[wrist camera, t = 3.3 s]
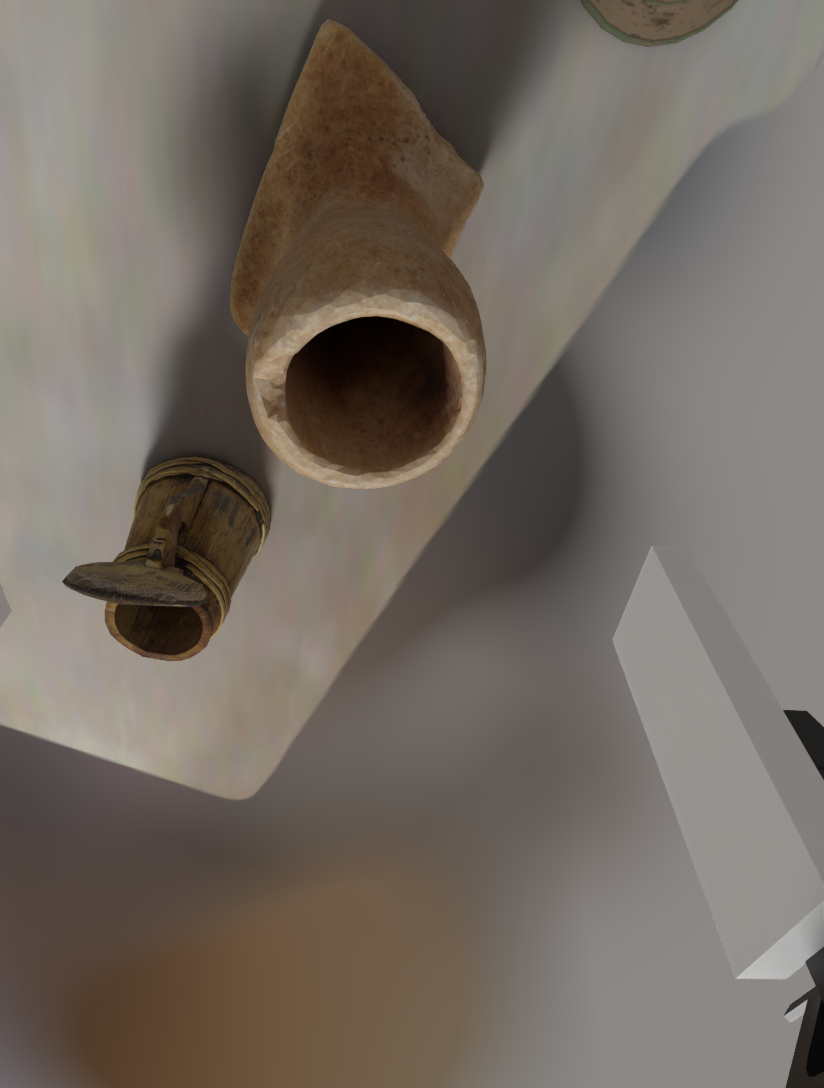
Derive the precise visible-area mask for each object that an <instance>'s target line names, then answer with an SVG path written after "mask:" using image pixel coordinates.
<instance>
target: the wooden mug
mask: <svg viewBox="0 0 824 1088" xmlns="http://www.w3.org/2000/svg"><path fill="white" fill-rule="evenodd" d="M270 519H271V517H270V510H269V506H268V504H267V501H266V499H265V496H264V493H263V492H262V491H261V489H260V488H259V487H258V486H257V484H256V483H255V482H254V481H253V480H252V478H250V477H248V476H247V475H245V474H244V473H242V472H241V471H239V470H238V469H236V468H235V467H231V466H228V465H225V464H222V463H220V462H216V461H213V460H210V459H207V458H202V457H181V458H177V459H173V460H169V461H165V462H163V463H161V464H159V465H157V466H155V467H153V468H151V469H150V470H149V472H148V473H147V475H146V476H145V478H144V480H143V481H142V483H141V484H140V486H139V489H138V492H137V496H136V500H135V504H134V520H133V524H132V527H131V530H130V533H129V537H128V540H127V543H126V546H125V549H124V551H123V552H121V553H119V555H118V556H117V557H116V558H115V560H114V561H113V562H97V563H90V564H85V565H81V566H77V567H75V568H74V569H73V570H72V571H71V572H70V573H69V574H68V575H67V576H66V578H65V579H64V580H63V581H62V582H63V583H64V584H65V586H67V587H69V588H70V589H72V590H75V591H77V592H79V593H81V594H83V595H86V596H90V597H93V598H97V599H100V600H104V601H106V608H105V623H106V625H107V627H108V630H109V632H110V634H111V635H112V636H113V637H114V638H115V639H116V640H117V641H118V642H119V643H121V644H122V645H124V646H125V647H127V648H128V649H130V650H131V651H133V652H135V653H137V654H139V655H141V656H143V657H148V658H154V659H160V660H166V661H181V660H184V659H188V658H191V657H192V656H194V655H196V654H198V653H199V652H200V651H202V650H203V649H204V648H205V647H206V646H207V644H208V642H209V640H210V639H211V638H212V637H213V636H214V635H215V634H216V633H217V632H218V631H219V629H220V627H221V625H222V623H223V622H224V620H225V618H226V615H227V613H228V611H229V608H230V603H231V597H232V595H233V593H234V592H235V590H236V588H237V586H238V584H239V582H240V580H241V579H242V577H243V575H244V573H245V571H246V569H247V567H248V566H249V564H250V562H251V560H252V559H253V558H254V557H255V556H256V555H257V554H258V553H259V551H260V549H261V548H262V546H263V544H264V542H265V540H266V538H267V535H268V533H269V528H270Z"/></svg>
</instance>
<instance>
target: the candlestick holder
mask: <svg viewBox="0 0 824 1088" xmlns="http://www.w3.org/2000/svg"><path fill="white" fill-rule="evenodd" d="M581 1H582V4H583V6H584V7H585V8H586V10H587V11H588V12H589V13H590V15H591V16H592V17H593V18H594V19H595V21H596V22H597V23H598V24H599V26H600V27H601V28H602V29H604V30H605V31H607V32H609V33H610V34H612V35H614V36H615V37H617V38H618V39H620V40H622V41H623V42H627V43H632V44H637V45H642V46H647V47H651V46H658V45H665V44H673V43H677V42H679V41H681V40H683V39H686V38H688V37H690V36H692V35H694V34H697V33H699V32H701V31H703V30H705V29H706V28H707V27H708V26H710V25H711V24H712V23H714V22H715V21H716V20H717V19H719V18H720V17H721V16H722V15H724V14H725V13H726V12H727V11H729V10H730V9H731V8H732V7H733V6H734V5H735V4H736V2H737V1H738V0H581Z"/></svg>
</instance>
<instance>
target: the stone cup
mask: <svg viewBox="0 0 824 1088" xmlns="http://www.w3.org/2000/svg"><path fill="white" fill-rule="evenodd" d="M483 185H484V183H483V180H482V178H481V176H480V175H479V174H478V173H477V172H476V171H475V170H474V169H473V168H472V167H471V166H470V165H469V164H468V163H466V162H465V161H464V160H463V159H462V158H461V157H459V156H458V154H457V152H456V150H455V148H454V147H453V146H452V145H451V144H450V143H449V142H448V141H447V140H445V139H444V138H443V137H441V136H440V135H439V134H438V133H437V132H436V130H435V128H434V126H433V125H432V124H431V123H430V122H429V120H428V118H427V116H426V115H425V113H424V112H423V110H422V109H421V108H420V105H419V103H418V101H417V99H416V97H415V96H414V94H413V93H412V91H411V90H410V89H409V88H408V87H407V86H406V85H405V84H404V83H403V82H402V81H401V79H400V78H399V77H398V76H397V75H396V74H395V73H394V71H393V70H392V69H391V68H390V67H389V66H388V65H387V64H386V63H385V62H384V61H383V60H382V59H381V58H380V57H378V56H377V55H376V54H375V53H374V52H373V51H372V50H371V49H370V48H369V47H368V46H367V45H366V44H365V43H364V42H363V41H362V40H361V39H360V38H359V37H358V36H357V35H356V34H355V33H354V32H353V31H352V30H351V29H350V28H348V27H346V26H344V25H342V24H340V23H338V22H336V21H334V20H331V19H327V20H326V21H325V22H324V23H323V24H322V25H321V26H320V29H319V31H318V34H317V36H316V38H315V41H314V43H313V46H312V48H311V51H310V53H309V56H308V58H307V60H306V63H305V65H304V67H303V70H302V72H301V74H300V77H299V79H298V81H297V84H296V86H295V89H294V91H293V94H292V96H291V99H290V101H289V104H288V106H287V109H286V112H285V115H284V118H283V120H282V123H281V126H280V129H279V132H278V134H277V137H276V140H275V143H274V150H273V153H272V155H271V157H270V159H269V161H268V163H267V166H266V169H265V171H264V174H263V177H262V179H261V182H260V185H259V188H258V190H257V193H256V196H255V199H254V202H253V205H252V208H251V211H250V214H249V217H248V221H247V224H246V227H245V230H244V233H243V236H242V240H241V243H240V247H239V250H238V254H237V257H236V261H235V264H234V268H233V273H232V278H231V288H230V311H231V314H232V316H233V319H234V321H235V322H236V323H237V325H238V326H239V327H240V329H241V330H242V331H243V332H244V333H245V334H246V335H247V336H248V343H247V352H246V365H245V378H246V389H247V397H248V401H249V404H250V408H251V412H252V415H253V419H254V422H255V424H256V426H257V428H258V430H259V432H260V435H261V437H262V438H263V439H264V441H265V442H266V444H267V445H268V446H269V448H270V449H271V450H272V451H273V452H274V453H275V454H276V455H277V457H278V458H279V459H280V460H282V461H283V462H284V463H286V464H287V465H288V466H289V467H291V468H292V469H293V470H295V471H296V472H297V473H299V474H301V475H303V476H306V477H309V478H311V479H314V480H316V481H319V482H321V483H324V484H327V485H330V486H334V487H342V488H349V489H374V488H381V487H387V486H392V485H395V484H398V483H402V482H405V481H407V480H410V479H413V478H415V477H418V476H420V475H421V474H423V473H425V472H427V471H428V470H430V469H432V468H434V467H435V466H437V465H439V464H440V463H441V462H442V461H443V460H444V459H445V458H446V457H447V456H449V455H450V454H451V453H452V452H453V450H454V449H455V448H456V447H457V446H458V444H459V443H460V442H461V441H462V439H463V438H464V436H465V435H466V434H467V432H468V431H469V429H470V427H471V425H472V423H473V421H474V419H475V417H476V415H477V413H478V410H479V406H480V403H481V400H482V397H483V393H484V384H485V374H486V350H485V343H484V337H483V331H482V324H481V320H480V315H479V311H478V307H477V304H476V301H475V299H474V296H473V294H472V291H471V289H470V286H469V284H468V283H467V281H466V280H465V278H464V277H463V275H462V274H461V272H460V271H459V269H458V268H457V267H456V265H455V264H454V263H453V262H452V260H451V259H450V256H451V254H452V252H453V250H454V247H455V245H456V243H457V241H458V239H459V236H460V234H461V232H462V229H463V227H464V225H465V223H466V221H467V219H468V218H469V216H470V215H471V213H472V212H473V210H474V208H475V206H476V204H477V202H478V200H479V198H480V195H481V192H482V190H483Z"/></svg>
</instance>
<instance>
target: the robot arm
mask: <svg viewBox="0 0 824 1088" xmlns="http://www.w3.org/2000/svg"><path fill="white" fill-rule="evenodd" d="M10 613H11V609H10V606H9V604H8V602H7V599H6V597H5V594H4V592H3V590H2V587H1V585H0V627H1V626H2V624H3V623H4V621H5V620H6V619H7V617H8V616H9V614H10ZM612 641H613V643H614V646H615V649H616V651H617V654H618V657H619V660H620V663H621V665H622V668H623V670H624V673H625V676H626V679H627V682H628V685H629V687H630V690H631V693H632V696H633V698H634V701H635V704H636V707H637V709H638V712H639V715H640V718H641V720H642V723H643V726H644V729H645V731H646V734H647V737H648V740H649V742H650V745H651V748H652V750H653V753H654V756H655V759H656V761H657V764H658V767H659V770H660V772H661V775H662V778H663V780H664V783H665V786H666V789H667V792H668V794H669V797H670V800H671V803H672V805H673V808H674V811H675V814H676V817H677V819H678V822H679V825H680V828H681V830H682V832H683V836H684V839H685V841H686V844H687V847H688V850H689V852H690V855H691V858H692V860H693V863H694V866H695V869H696V872H697V874H698V877H699V880H700V882H701V885H702V888H703V891H704V894H705V896H706V899H707V902H708V905H709V907H710V910H711V913H712V915H713V918H714V921H715V924H716V927H717V929H718V932H719V935H720V938H721V940H722V943H723V945H724V949H725V951H726V954H727V957H728V960H729V962H730V965H731V968H732V971H733V973H734V976H735V978H736V979H786V978H788V977H789V976H790V975H791V974H792V973H794V972H795V971H797V970H798V969H799V968H800V967H802V966H803V965H804V964H807V967H808V969H809V971H810V974H811V976H812V978H813V980H814V983H815V985H816V987H814V988H813V989H811V990H810V991H809V992H807V993H806V994H804V995H803V996H802V997H800V998H799V999H798V1000H796V1001H795V1002H793V1003H792V1004H791V1005H790V1006H789V1008H788V1009H787V1011H786V1013H785V1015H784V1018H786V1019H787V1020H788V1021H790V1022H793V1021H794V1020H796V1019H797V1018H798V1017H800V1016H801V1015H803V1014H804V1016H803V1020H802V1024H801V1029H800V1032H799V1036H798V1040H797V1044H796V1048H795V1052H794V1056H793V1061H792V1064H791V1069H790V1072H789V1077H788V1080H787V1084H786V1088H824V727H823V726H822V725H821V724H820V723H819V722H818V721H817V720H816V719H815V718H813V717H812V716H811V715H810V714H809V713H808V712H807V711H795V710H782V708H781V706H780V704H779V703H778V701H777V699H776V698H775V696H774V694H773V692H772V691H771V689H770V687H769V685H768V684H767V682H766V680H765V679H764V677H763V675H762V673H761V672H760V670H759V668H758V667H757V665H756V663H755V661H754V660H753V658H752V656H751V655H750V653H749V651H748V649H747V648H746V646H745V644H744V642H743V641H742V639H741V637H740V636H739V634H738V632H737V630H736V629H735V627H734V625H733V624H732V622H731V620H730V618H729V617H728V615H727V613H726V612H725V610H724V608H723V606H722V605H721V603H720V601H719V599H718V598H717V596H716V594H715V593H714V591H713V589H712V587H711V586H710V584H709V582H708V581H707V579H706V577H705V576H704V574H703V572H702V570H701V569H700V567H699V565H698V563H697V562H696V560H695V558H694V557H693V555H692V553H691V551H690V550H689V548H684V547H667V546H651V548H650V551H649V553H648V556H647V558H646V560H645V563H644V565H643V568H642V570H641V572H640V575H639V577H638V580H637V582H636V585H635V587H634V589H633V592H632V594H631V597H630V599H629V601H628V604H627V606H626V609H625V611H624V613H623V616H622V618H621V621H620V623H619V626H618V628H617V630H616V633H615V635H614V638H613V640H612Z"/></svg>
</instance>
